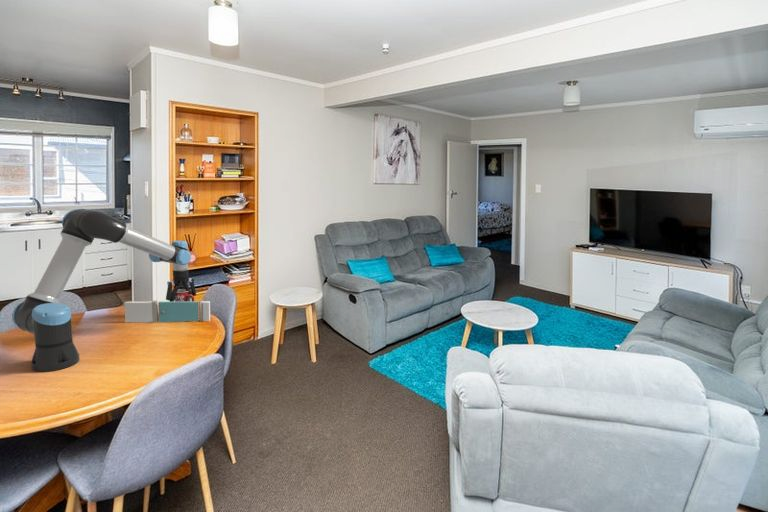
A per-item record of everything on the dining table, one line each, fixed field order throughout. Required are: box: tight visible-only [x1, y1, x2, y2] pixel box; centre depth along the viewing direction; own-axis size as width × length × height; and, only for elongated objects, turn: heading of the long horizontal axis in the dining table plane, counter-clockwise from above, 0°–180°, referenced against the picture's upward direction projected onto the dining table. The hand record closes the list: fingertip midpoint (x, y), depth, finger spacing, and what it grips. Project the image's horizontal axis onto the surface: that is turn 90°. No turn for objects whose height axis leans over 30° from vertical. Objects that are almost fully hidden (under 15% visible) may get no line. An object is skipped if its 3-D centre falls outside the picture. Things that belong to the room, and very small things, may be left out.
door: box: [157, 300, 200, 323], centre depth 223 cm, size 4×19×10 cm, turn 99°
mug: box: [171, 288, 195, 302], centre depth 231 cm, size 13×9×14 cm
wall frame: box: [123, 300, 211, 323], centre depth 223 cm, size 2×41×11 cm, turn 99°
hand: (181, 310), depth 231 cm, fingers closed on mug, 8 cm apart
